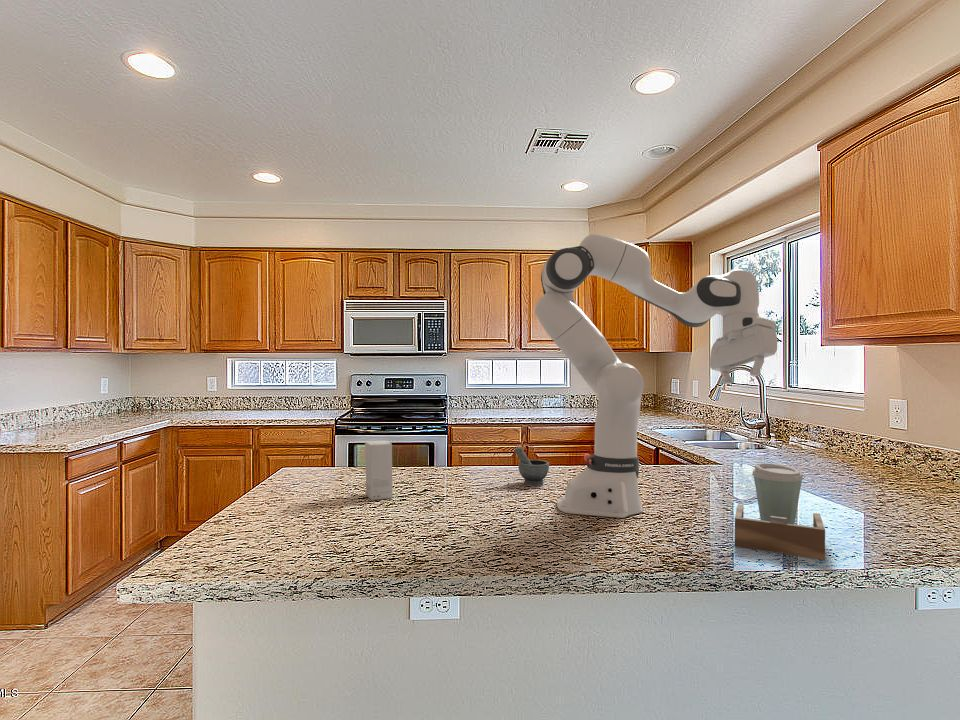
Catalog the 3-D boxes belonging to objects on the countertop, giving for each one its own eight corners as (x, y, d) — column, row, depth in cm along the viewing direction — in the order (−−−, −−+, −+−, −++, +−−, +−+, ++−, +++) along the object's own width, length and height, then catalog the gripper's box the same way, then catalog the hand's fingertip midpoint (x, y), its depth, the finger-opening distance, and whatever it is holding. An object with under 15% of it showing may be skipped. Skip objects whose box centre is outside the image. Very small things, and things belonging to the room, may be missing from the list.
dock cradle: (737, 529, 128) (737, 498, 128) (819, 540, 121) (819, 508, 121) (734, 546, 117) (734, 512, 117) (824, 559, 109) (825, 524, 109)
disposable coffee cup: (809, 530, 128) (809, 466, 128) (794, 541, 121) (795, 473, 121) (761, 520, 136) (761, 460, 136) (744, 530, 128) (745, 466, 128)
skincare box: (392, 498, 154) (393, 443, 154) (369, 501, 152) (369, 444, 151) (386, 492, 162) (387, 439, 162) (364, 494, 159) (364, 440, 159)
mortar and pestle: (546, 480, 179) (547, 444, 179) (551, 487, 169) (552, 448, 169) (512, 480, 178) (512, 444, 178) (515, 487, 169) (515, 448, 169)
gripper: (704, 338, 153) (703, 385, 149) (760, 314, 134) (761, 368, 130) (723, 342, 154) (722, 390, 150) (781, 320, 135) (783, 373, 131)
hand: (741, 379), depth 140 cm, fingers open, 8 cm apart
